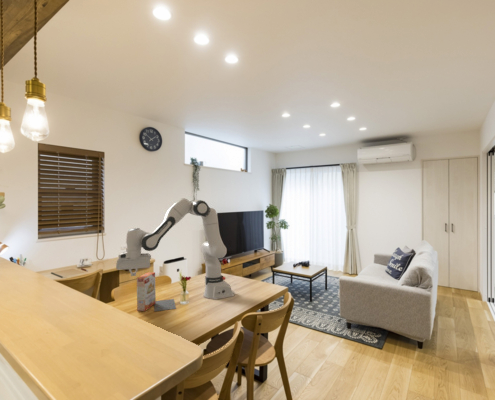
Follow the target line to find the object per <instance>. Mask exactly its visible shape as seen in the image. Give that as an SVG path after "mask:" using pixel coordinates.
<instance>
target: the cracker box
mask: <svg viewBox="0 0 495 400" xmlns="http://www.w3.org/2000/svg"><path fill="white" fill-rule="evenodd" d="M156 295H157V294H156V272H154V271H151V272H149V271H148V272H146V273H144V274H142V275H139V276H138V277H136V304H137V305H136V307H137V308H136V310H137V311H138V312H146V311H147V310H149V309H150V308H151V307H152V306H154V304H155V303H156V301H157V299H156V297H157V296H156Z"/></svg>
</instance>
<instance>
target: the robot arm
mask: <svg viewBox="0 0 495 400" xmlns="http://www.w3.org/2000/svg"><path fill="white" fill-rule="evenodd" d="M172 204H173V205H171V206H170V207H169V208H168V209H167V210H166V212H165V213H164V217H163V221H162V222H161V224H159V226H157V228H156V229H155V230H153V232H151V233H150V232H148V231H145V230H143V229H141V228H140V227H137V228H136V227H135V228H132V229H129V230H128V231H127V233H126V239H125V240H126V241H125V244H126V251H123V252H120V253H119V254H118V258H117V260H116V263H115V269H116V270H117V271H121V270H128V271H129V273H130V276H131V277H135V276H137V272H138V270H139V269H149V268H150V267H151V259H152V255H151V254H150V253H148V252H151V251H155V250H156V249H157V248H158V246H159V244H160V243H161V240H162V239H163V238H164V236H165V235H166V234H167V233H168V232H169V231H170V230H171V229H172V228H173V227H174V226H176V224H178V223H179V222H181V220H183V218H184V217H185V216H186V215H187V214H191V215H192V216H197V217H198V216H199V217H201V219H202V227H203V228H202V229H203V235H204V237H205V238H206V241H203V242H202V244H201V245H200V250H201V252H202V255H203V259H204V263H205V276H204V277H205V278H204V285H205V288H204V292H203V297H204V298H206V299H213V300H220V299H226V298H230V297H234V296H235V295H236V294H235V291H233V290H232V287H231V284H230V283H228V282H227V281H225V280H226V276H224V275H222V265H221V262H220V260H219V259H223V258H224V257H226V255H227V251H228V250H227V247H226V245H225V244H224V242H223V240H222V237H221V233H220V227H219V226H220V225H219V218H218V214H217V212H216V209H214V208H213V207H209V204H208V203H207V202H206V201H205V200H201V199H193V200H191V201H189V200H188V199H187V198H180V199H179V200H177V201H176V202H175V203H172ZM142 249H143V250H144V251H147V253H144V252H143V253H142ZM134 269H135V271H134V272H133V271H132V270H134Z"/></svg>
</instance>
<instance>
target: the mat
mask: <svg viewBox="0 0 495 400" xmlns="http://www.w3.org/2000/svg"><path fill="white" fill-rule="evenodd" d="M153 306H154V312H160V311H162V312H163V311H169V310H170V311H171V310H176V309H177V307H176V302H175V299H174V298H171V299H163V300H156V303H155V304H154V305H153Z"/></svg>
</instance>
